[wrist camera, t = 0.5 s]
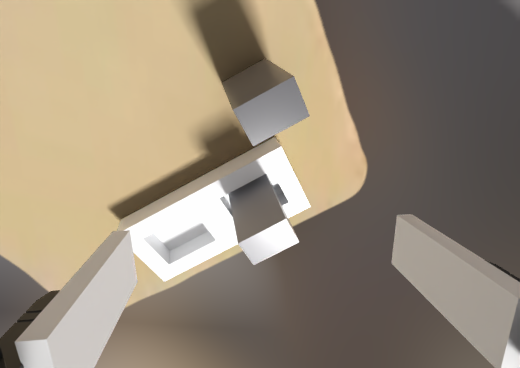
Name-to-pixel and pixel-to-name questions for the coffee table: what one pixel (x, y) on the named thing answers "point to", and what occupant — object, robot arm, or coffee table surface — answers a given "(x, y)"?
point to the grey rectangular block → (265, 100)
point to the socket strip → (221, 214)
